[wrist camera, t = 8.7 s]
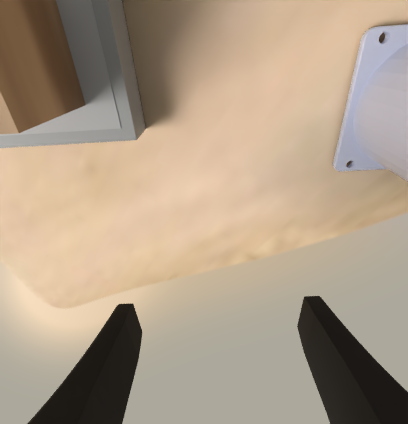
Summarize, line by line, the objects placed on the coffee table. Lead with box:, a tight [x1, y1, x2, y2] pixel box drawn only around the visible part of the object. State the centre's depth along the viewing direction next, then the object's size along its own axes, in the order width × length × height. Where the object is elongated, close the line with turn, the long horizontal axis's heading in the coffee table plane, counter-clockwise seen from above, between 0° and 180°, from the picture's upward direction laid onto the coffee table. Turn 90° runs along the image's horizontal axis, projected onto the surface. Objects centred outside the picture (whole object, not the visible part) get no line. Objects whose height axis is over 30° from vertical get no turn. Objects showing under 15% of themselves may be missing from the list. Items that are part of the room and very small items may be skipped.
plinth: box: [0, 0, 146, 148], centre depth 13 cm, size 9×9×2 cm
